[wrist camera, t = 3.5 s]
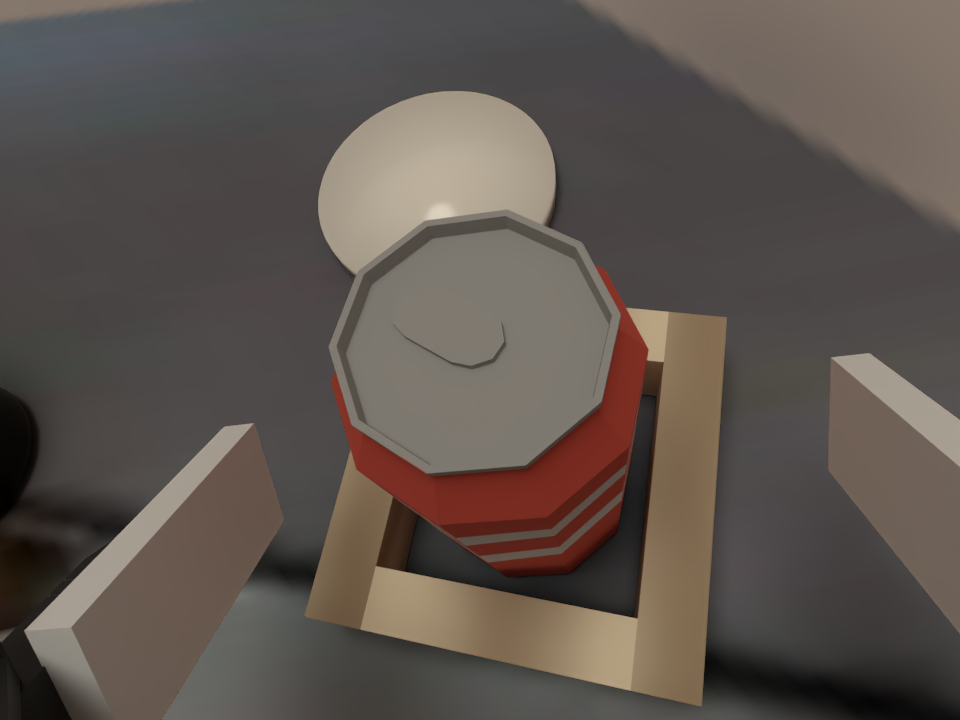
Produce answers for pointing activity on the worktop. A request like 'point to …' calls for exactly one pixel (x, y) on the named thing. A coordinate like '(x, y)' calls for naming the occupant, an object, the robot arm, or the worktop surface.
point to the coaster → (433, 171)
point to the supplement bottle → (13, 445)
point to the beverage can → (493, 388)
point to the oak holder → (545, 624)
